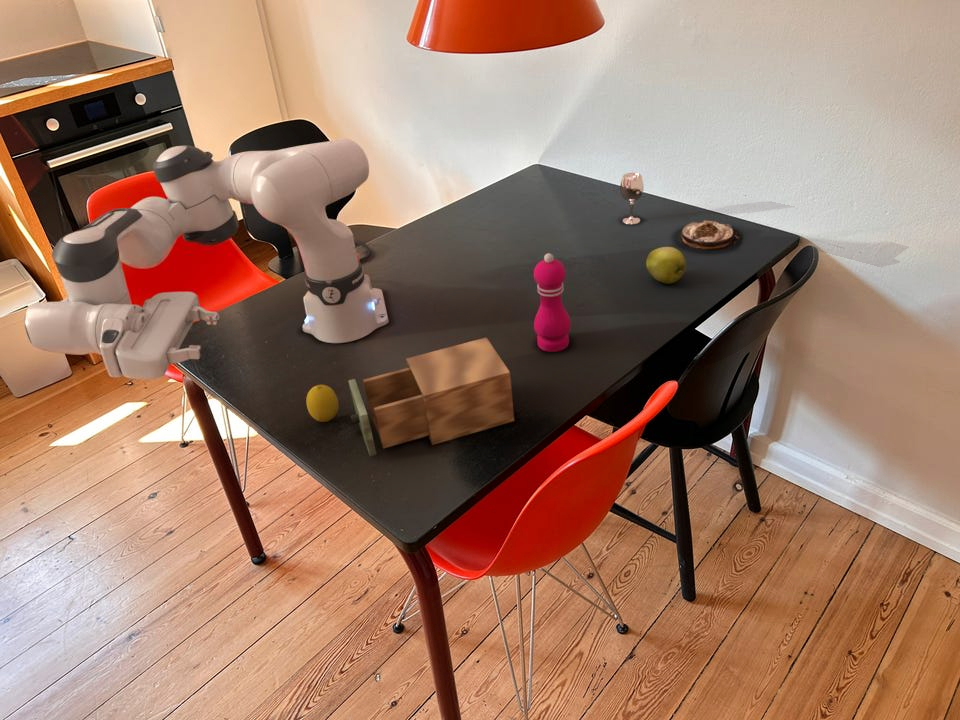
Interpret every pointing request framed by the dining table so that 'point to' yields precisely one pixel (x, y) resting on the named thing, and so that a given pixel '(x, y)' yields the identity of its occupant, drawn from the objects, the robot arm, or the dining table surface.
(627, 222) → the wineglass
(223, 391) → the dining table surface
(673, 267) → the apple
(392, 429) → the drawer
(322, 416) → the lemon
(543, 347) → the pepper mill
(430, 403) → the cabinet
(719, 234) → the mottled flat disc
